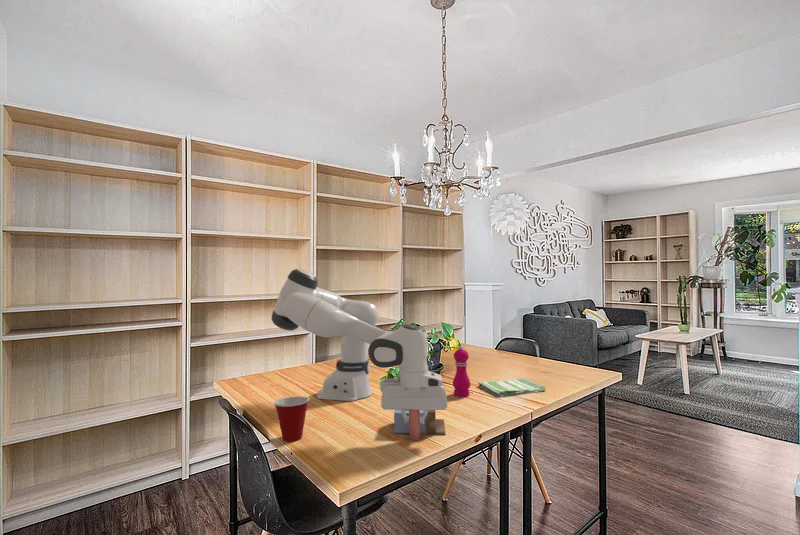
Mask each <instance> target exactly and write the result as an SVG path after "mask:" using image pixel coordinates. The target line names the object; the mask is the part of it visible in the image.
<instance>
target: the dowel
mask: <svg viewBox="0 0 800 535" xmlns="http://www.w3.org/2000/svg"><path fill="white" fill-rule="evenodd" d="M419 418H420V412H419V410H409V433H408V435H409V440H411V441H419V440H420V439H421V433H420V421H419Z"/></svg>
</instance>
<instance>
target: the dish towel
mask: <svg viewBox="0 0 800 535" xmlns="http://www.w3.org/2000/svg"><path fill="white" fill-rule="evenodd" d="M477 383H478V386H479V388H481V389H483V390H484V391H486V392H488V393H490V394H492V395H494V396H496V397H498V398H502V397H504V398H505V397H511V396H517V395H518V396H519V395H526V394H532V393H539V392H544V391H546V389H547V386H545V385H541V384H538V383H536V382H534V381H531V380H529V379H526V378H525V377H519V378H516V379H515V378H514V379H508V380H499V381H478V382H477Z"/></svg>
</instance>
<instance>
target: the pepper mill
mask: <svg viewBox="0 0 800 535" xmlns="http://www.w3.org/2000/svg"><path fill="white" fill-rule="evenodd" d="M453 358H454V360H455V361H454V363H455V364H454V365H455V367H456V370H455V371H456V373H455V375H454V377H453V380H452V386H453V388H454V390H453V395H454V396H455V397H458V398H467V397H469V396H470V390H469V389H470V388H471V386H472V384H471V380H470V377H469V375H468V372H467V366H468V359H469V358H470V357H469V353H468V351H467V350H465V349H464V346H463V345H459V346H458V349H457V350H455V351H454V353H453Z"/></svg>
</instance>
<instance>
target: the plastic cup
mask: <svg viewBox="0 0 800 535" xmlns="http://www.w3.org/2000/svg"><path fill="white" fill-rule="evenodd" d="M309 402H310V398H309V397H308V396H301V395H300V396H287V397H282V398H279V399H276V400H274V401H273V405H274V407H275V409H276V413H277V418H278V423H279V428H280V431H281V438H282V440H283V441H284V442H291V443H292V442H296V441H300V439H302V437H303V434H304V428H305V427H304V426H305V422H306V413H307V412H306V411H307V408H308V403H309Z"/></svg>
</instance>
